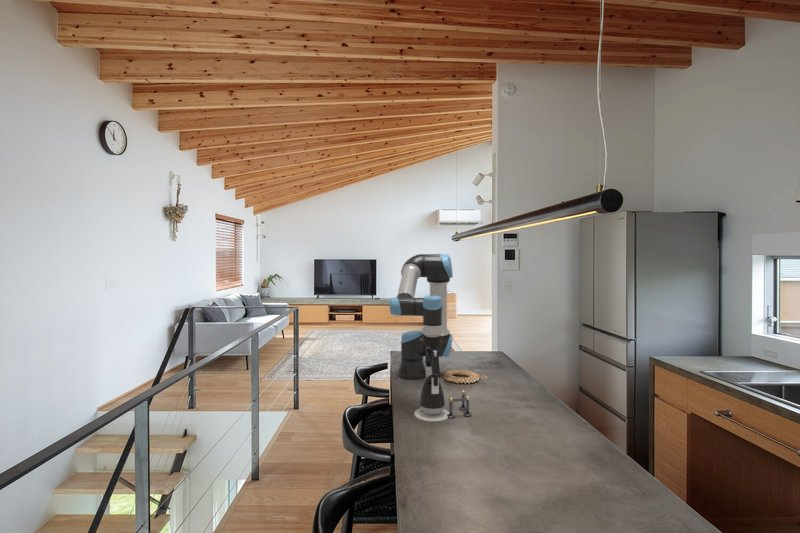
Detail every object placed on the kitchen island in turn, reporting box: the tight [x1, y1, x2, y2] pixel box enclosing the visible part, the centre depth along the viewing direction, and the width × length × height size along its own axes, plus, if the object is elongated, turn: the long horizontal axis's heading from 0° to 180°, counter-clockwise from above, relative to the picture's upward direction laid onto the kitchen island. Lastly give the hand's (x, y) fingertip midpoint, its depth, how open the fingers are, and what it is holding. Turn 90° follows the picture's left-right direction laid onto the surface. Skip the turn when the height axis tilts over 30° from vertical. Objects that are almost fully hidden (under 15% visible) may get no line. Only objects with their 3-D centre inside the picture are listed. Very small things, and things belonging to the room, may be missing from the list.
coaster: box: [413, 407, 449, 423], centre depth 169 cm, size 14×14×1 cm
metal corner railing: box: [447, 390, 473, 419], centre depth 171 cm, size 11×10×8 cm
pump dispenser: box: [418, 375, 446, 415], centre depth 169 cm, size 10×10×15 cm
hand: (432, 387), depth 169 cm, fingers open, 13 cm apart
